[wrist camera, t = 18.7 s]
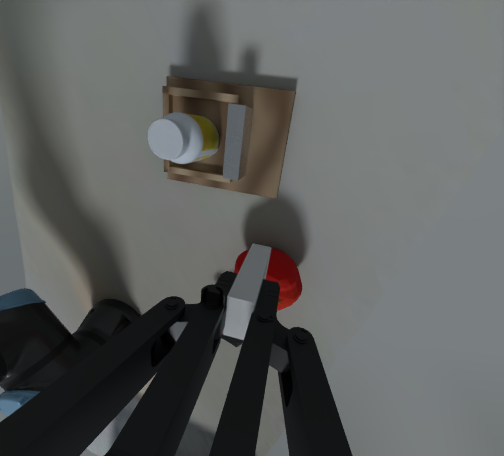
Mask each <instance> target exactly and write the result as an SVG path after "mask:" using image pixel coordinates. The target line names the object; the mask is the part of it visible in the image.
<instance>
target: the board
mask: <svg viewBox="0 0 504 456" xmlns="http://www.w3.org/2000/svg"><path fill="white" fill-rule="evenodd" d="M295 94H296V92H295V91H289V90H280V89H272V88H263V87H254V86H246V85H237V84H229V83H220V82H212V81H203V80H194V79H186V78H177V77H169V76H167V86H163V117H165V116H166V115H168V114H170V113H174V112H180V113H186V114H192V115H198V116H203V117H207V118H209V119H210V120H212V121H213V122H214V123H215V124H216V126H217V127H218V129H219V132H220V137H221V142H220V146H219V149H218V151H217V152H216V153H215V154H214V155H213V156H211V157H209V158H207V159H203V160H199V161H195V162H191V163H187V164H178V163H175V162H172V161H170V160H166V159H164V172H168V179H171V180H177V181H182V182H188V183H193V184H199V185H204V186H210V187H215V188H221V189H226V190H232V191H237V192H243V193H248V194H254V195H259V196H264V197H270V198H275V199H276V198H277V195H278V189H279V184H280V178H281V172H282V167H283V161H284V156H285V150H286V144H287V139H288V133H289V127H290V122H291V116H292V111H293V105H294V99H295ZM228 103H230V104H238V105H245V106H248V107H250V108H252V109H253V117H252V125H251V133H250V142H249V150H248V159H247V167H246V175H245V176H244V177H242V178H241V179H240V180H238V181H237V180H231V179H226V178H222V177H223V165H224V153H225V140H226V128H227V115H228Z"/></svg>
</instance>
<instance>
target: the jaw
mask: <svg viewBox="0 0 504 456" xmlns="http://www.w3.org/2000/svg"><path fill="white" fill-rule="evenodd" d="M252 117H253V109H252V108H250V107H248V106H245V105H238V104H230V103H228V115H227V128H226V140H225V153H224V165H223V177H222V178H226V179H231V180H237V181H238V180H240V179H241V178H242V177H244V176H245V175H246V167H247V159H248V150H249V142H250V133H251V125H252Z"/></svg>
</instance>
